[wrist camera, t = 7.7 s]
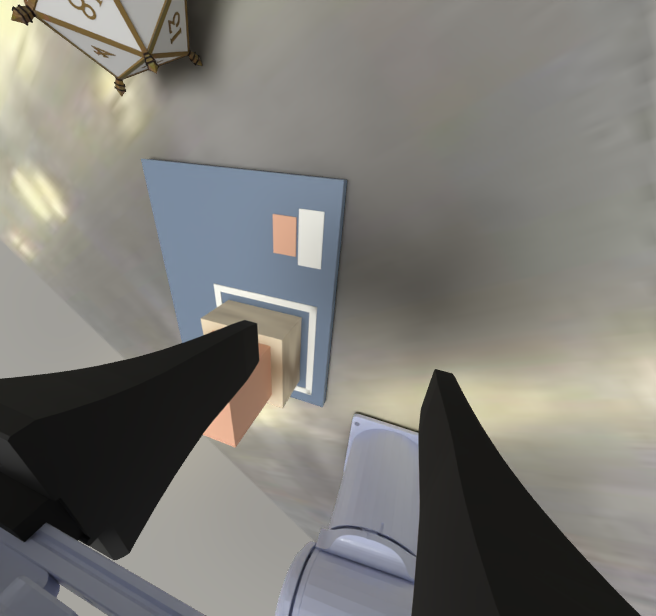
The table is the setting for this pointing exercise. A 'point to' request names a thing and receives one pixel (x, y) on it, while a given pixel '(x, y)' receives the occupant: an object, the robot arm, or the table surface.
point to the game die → (117, 31)
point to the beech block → (267, 341)
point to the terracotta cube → (244, 403)
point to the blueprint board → (252, 249)
